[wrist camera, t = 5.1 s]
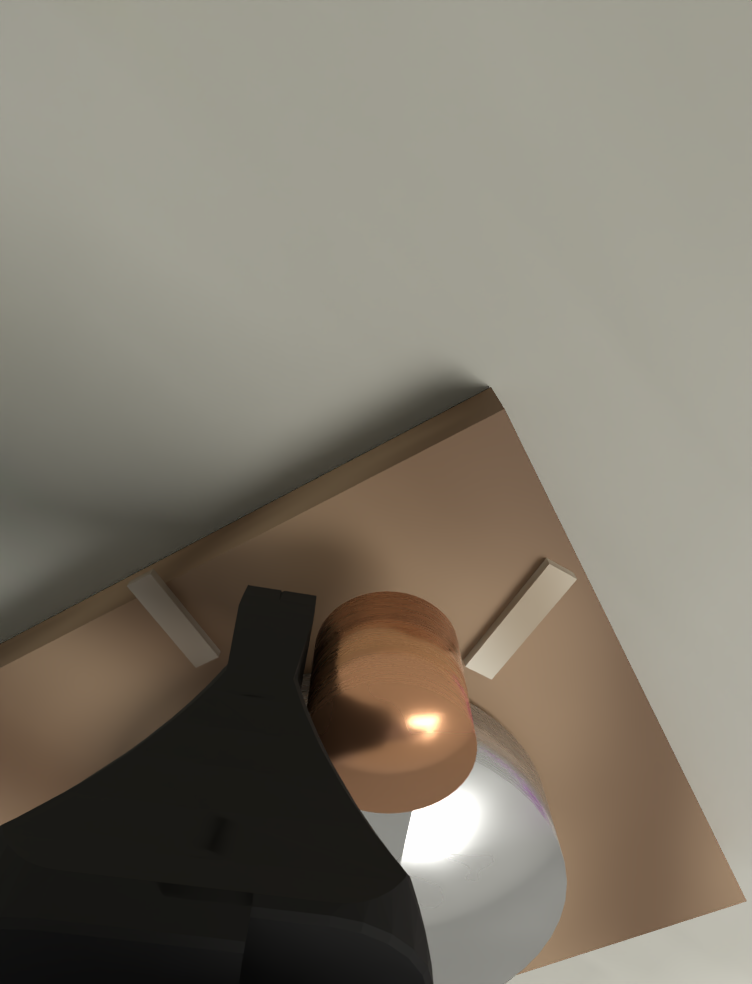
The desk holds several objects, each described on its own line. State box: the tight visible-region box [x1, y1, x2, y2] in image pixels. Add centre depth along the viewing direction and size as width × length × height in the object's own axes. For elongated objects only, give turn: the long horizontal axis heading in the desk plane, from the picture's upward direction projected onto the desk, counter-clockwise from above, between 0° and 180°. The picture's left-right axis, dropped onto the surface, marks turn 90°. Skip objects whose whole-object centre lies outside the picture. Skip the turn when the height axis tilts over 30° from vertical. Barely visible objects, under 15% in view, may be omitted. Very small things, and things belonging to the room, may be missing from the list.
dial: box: [301, 591, 567, 984], centre depth 14 cm, size 13×10×4 cm
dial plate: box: [0, 387, 746, 975], centre depth 17 cm, size 16×16×2 cm
